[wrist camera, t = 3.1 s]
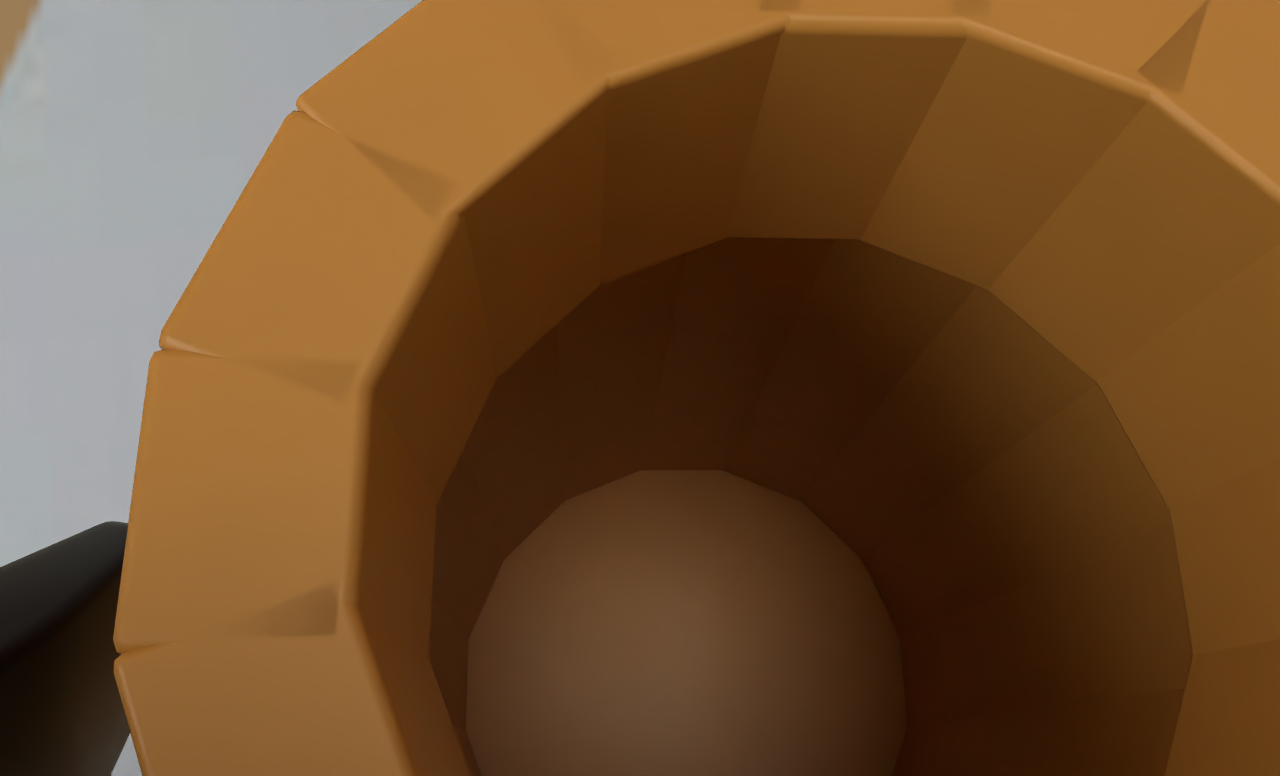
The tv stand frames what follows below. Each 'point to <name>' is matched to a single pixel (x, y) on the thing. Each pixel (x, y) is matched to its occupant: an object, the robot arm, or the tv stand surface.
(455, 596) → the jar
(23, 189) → the tv stand surface
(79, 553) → the robot arm
